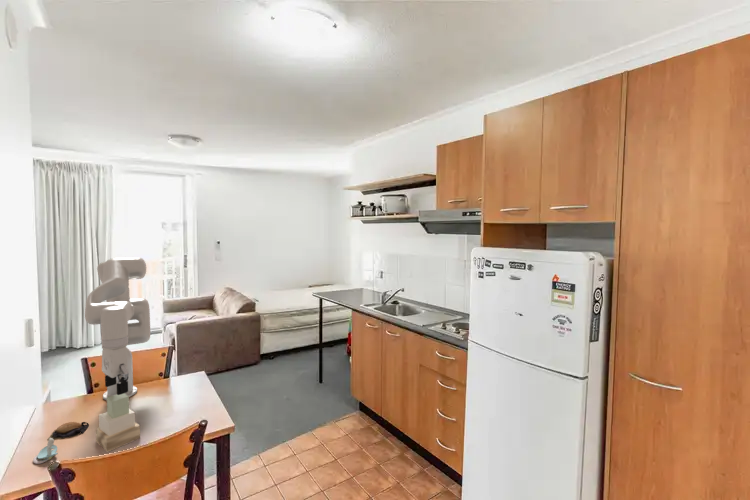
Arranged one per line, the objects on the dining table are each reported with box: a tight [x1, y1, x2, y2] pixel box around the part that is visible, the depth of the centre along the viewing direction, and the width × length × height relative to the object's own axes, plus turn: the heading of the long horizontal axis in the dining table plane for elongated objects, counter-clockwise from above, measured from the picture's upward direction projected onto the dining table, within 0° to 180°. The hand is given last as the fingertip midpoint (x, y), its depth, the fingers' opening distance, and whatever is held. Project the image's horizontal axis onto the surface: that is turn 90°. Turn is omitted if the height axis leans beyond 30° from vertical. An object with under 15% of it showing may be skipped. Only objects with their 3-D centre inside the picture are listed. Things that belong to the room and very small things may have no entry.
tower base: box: [95, 421, 141, 453], centre depth 129 cm, size 10×10×5 cm
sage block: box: [106, 393, 130, 419], centre depth 128 cm, size 5×5×6 cm
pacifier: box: [32, 437, 58, 465], centre depth 118 cm, size 7×6×6 cm
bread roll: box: [47, 421, 90, 441], centre depth 133 cm, size 11×8×4 cm
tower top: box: [98, 408, 136, 436], centre depth 128 cm, size 8×8×5 cm
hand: (116, 389), depth 128 cm, fingers open, 9 cm apart
